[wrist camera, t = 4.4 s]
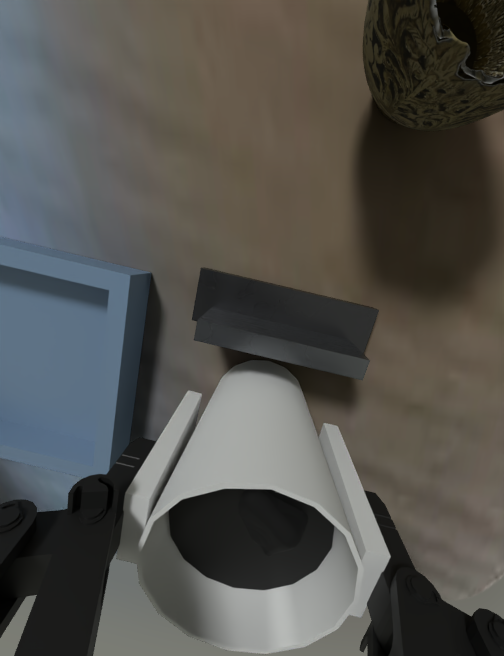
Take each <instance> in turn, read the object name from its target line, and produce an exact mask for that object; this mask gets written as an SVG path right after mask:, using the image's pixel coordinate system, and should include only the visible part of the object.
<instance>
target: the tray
mask: <svg viewBox="0 0 504 656" xmlns="http://www.w3.org/2000/svg"><path fill="white" fill-rule="evenodd" d="M150 281H151V272H146V271H142V270H138V269H134V268H130V267H125V266H121V265H117V264H113V263H108V262H104V261H100V260H96V259H92V258H87V257H83V256H79V255H75V254H71V253H66V252H62V251H58V250H54V249H49V248H45V247H41V246H37V245H33V244H28V243H24V242H20V241H16V240H12V239H7V238H3V237H0V458H3V459H7V460H11V461H16V462H20V463H24V464H28V465H32V466H37V467H41V468H45V469H49V470H53V471H57V472H62V473H66V474H70V475H74V476H78V477H83V478H86V477H88V476H90V475H96V474H107V473H108V471H109V470H110V469H111V468H112V466H113V465H114V464H115V463H116V461H117V460H118V458H119V457H120V456H121V455H122V453H123V452H124V450H125V449H126V448H127V446H128V445H129V442H130V435H131V427H132V419H133V412H134V404H135V396H136V388H137V381H138V373H139V365H140V358H141V350H142V342H143V335H144V327H145V319H146V312H147V304H148V296H149V288H150Z"/></svg>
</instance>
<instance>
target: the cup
mask: <svg viewBox="0 0 504 656" xmlns="http://www.w3.org/2000/svg"><path fill="white" fill-rule="evenodd" d="M363 61H364V69H365V74H366V79H367V83H368V86H369V89H370V91H371V93H372V95H373V98H374V99H375V102H376V105H377V107H378V109H379V110H380V112H381V113H382V114H383V115H384V116H385V117H386V118H387V119H389V120H390V121H392V122H395V123H399V124H401V125H403V126H405V127H408V128H411V129H416V130H423V131H441V130H447V129H452V128H456V127H460V126H463V125H467V124H470V123H472V122H475V121H478V120H480V119H483V118H485V117H488V116H490V115H493V114H495V113H497V112H499V111H502V110H504V0H368V6H367V12H366V18H365V24H364V36H363Z"/></svg>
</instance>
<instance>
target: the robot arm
mask: <svg viewBox="0 0 504 656" xmlns="http://www.w3.org/2000/svg"><path fill="white" fill-rule="evenodd" d="M201 396H202V394H201V393H197V392H192V391H188V392H187V393H186V395H185V396H184V398H183V400H182V401H181V403H180V405H179V406H178V408H177V409H176V411H175V413H174V414H173V416H172V418H171V419H170V421H169V423H168V424H167V426H166V427H165V429H164V431H163V432H162V434H161V436H160V437H159V439H158V440H157V442H156V441H152V440H148V439H144V438H138V439H137V440H135V441H133V442H132V443H130V444H129V445H128V446H127V448H126V449H125V450H124V452H123V453H122V455H121V456H120V457H119V458H118V460H117V461H116V463H115V464H114V465H113V466H112V468H111V469H110V470H109V471H108V473H107V474H96V475H90V476H88V477H86V478H83V479H81V480H80V481H79V482H77V483H76V484H75V485H74V486H73V487H72V489H71V490H70V492H69V494H68V509H65V510H59V511H46V512H37V507H36V506H35V505H34V503H33V502H30V501H28V500H13V501H9V502H5V503H3V504H1V505H0V638H1V636H2V634H3V633H4V631H5V630H6V628H7V626H8V625H9V623H10V622H11V620H12V618H13V617H14V615H15V614H16V612H17V610H18V609H19V607H20V605H21V604H22V602H23V601H24V599H25V597H26V596H31V595H37V596H36V599H35V602H34V604H33V607H32V610H31V612H30V615H29V618H28V620H27V623H26V626H25V628H24V631H23V634H22V636H21V639H20V642H19V644H18V647H17V649H16V652H15V655H14V656H93V652H94V647H95V642H96V637H97V631H98V626H99V621H100V616H101V610H102V605H103V600H104V594H105V589H106V584H107V579H108V573H109V566H110V562H111V560H112V559H113V556H114V555H115V553H116V551H117V549H118V551H117V559H119V560H123V561H127V562H131V563H135V564H137V560H136V552H135V550H136V548H137V546H138V543H139V541H140V539H141V536H142V534H143V532H144V529H145V527H146V525H147V522H148V520H149V518H150V516H151V514H152V512H153V510H154V508H155V506H156V504H157V502H158V500H159V499H160V497H161V495H162V493H163V491H164V489H165V487H166V485H167V483H168V481H169V479H170V477H171V475H172V473H173V471H174V469H175V467H176V466H177V464H178V462H179V460H180V458H181V456H182V454H183V452H184V450H185V448H186V446H187V444H188V442H189V440H190V438H191V436H192V434H193V433H194V431H195V426H196V421H197V416H198V411H199V406H200V401H201ZM319 441H320V443H321V446H322V449H323V452H324V455H325V458H326V461H327V463H328V466H329V469H330V472H331V475H332V478H333V481H334V483H335V486H336V489H337V492H338V495H339V498H340V501H341V503H342V506H343V509H344V512H345V515H346V518H347V521H348V524H349V526H350V529H351V532H352V535H353V538H354V541H355V544H356V546H357V549H358V552H359V555H360V558H361V561H362V564H363V566H364V573H363V579H362V586H361V592H360V599H359V603H358V604H357V605H356V606H355V608H354V609H353V610H352V612H351V613H350V614H349V615H352V616H356V617H360V618H361V617H362V615H363V613H364V611H365V609H366V607H367V606H368V609H369V613H370V616H371V620H372V621H371V623H370V625H369V627H368V630H367V632H366V634H365V635H364V637H363V639H362V641H361V645H360V651H362V652H364V650H365V648H366V646H367V644H368V656H504V619H502V618H501V617H500V616H499V615H497V614H495V613H493V612H491V611H489V610H487V609H480V608H479V609H478V610H476V611H475V612H474V614H473V616H472V617H471V616H469V615H467V614H466V613H464V612H462V611H460V610H458V609H457V608H455V607H453V606H452V605H450V604H448V603H446V602H445V601H443V600H442V599H441V597H440V595H439V593H438V592H437V590H436V589H435V587H434V586H433V584H432V583H431V582H430V581H429V580H428V579H427V578H426V577H425V576H423V575H422V574H420V573H419V572H418V571H416V570H415V567H414V565H413V563H412V561H411V559H410V557H409V555H408V553H407V550H406V548H405V546H404V544H403V542H402V540H401V538H400V536H399V533H398V531H397V530H396V527H395V525H394V523H393V521H392V520H391V516H390V514H389V512H388V510H387V508H386V506H385V504H384V503H383V502H382V501H381V499H380V498H379V497H378V496H377V494H376V493H373V492H369V491H365V490H363V487H362V485H361V482H360V480H359V477H358V475H357V473H356V470H355V468H354V465H353V463H352V460H351V458H350V455H349V453H348V450H347V448H346V446H345V443H344V441H343V438H342V436H341V433H340V431H339V428H338V426H335V425H331V424H327V423H324V424H323V427H322V429H321V432H320V435H319Z"/></svg>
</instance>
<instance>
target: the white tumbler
mask: <svg viewBox="0 0 504 656" xmlns="http://www.w3.org/2000/svg"><path fill="white" fill-rule="evenodd" d="M135 552H136V560H137V569H138V577H139V584H140V586H141V587H142V589H143V590H144V592H145V594H146V595H147V597H148V598H149V600H150V601H151V603H152V604H153V606H154V608H155V609H156V611H157V612H158V613H159V614H160V615H161V616H162V617H164V618H165V619H166V620H168V621H169V622H170V623H172V624H173V625H174V626H176V627H177V628H178V629H180V630H181V631H182V632H184V633H185V634H186V635H187V636H190V637H192V638H195V639H197V640H200V641H203V642H205V643H208V644H211V645H213V646H216V647H219V648H221V649H224V650H230V651H240V652H250V653H261V654H269V653H274V652H280V651H286V650H291V649H296V648H302V647H306V646H308V645H310V644H311V643H313V642H315V641H317V640H319V639H321V638H322V637H324V636H326V635H328V634H330V633H332V632H333V631H335V630H337V629H338V628H339V627H340V626H341V624H342V623H343V622H344V620H345V619H346V618H347V617H348V615H349V614H350V613H351V612H352V610H353V609H354V608H355V606H356V605H357V604H358V603H359V599H360V592H361V586H362V579H363V573H364V566H363V564H362V561H361V558H360V555H359V552H358V549H357V546H356V544H355V541H354V538H353V535H352V532H351V529H350V526H349V524H348V521H347V518H346V515H345V512H344V509H343V506H342V503H341V501H340V498H339V495H338V492H337V489H336V486H335V483H334V481H333V478H332V475H331V472H330V469H329V466H328V463H327V461H326V458H325V455H324V452H323V449H322V446H321V443H320V441H319V438H318V435H317V432H316V429H315V426H314V423H313V420H312V418H311V415H310V412H309V409H308V406H307V403H306V400H305V398H304V394H303V392H302V389H301V387H300V384H299V381H298V380H297V379H296V378H295V377H294V376H293V375H292V374H291V373H290V372H289V371H288V370H287V369H286V368H285V367H283V366H280V365H278V364H276V363H273V362H271V361H263V360H250V361H247V362H244V363H241V364H238V365H236V366H234V367H233V368H231V369H230V370H229V371H228V372H227V373H226V374H225V375H224V376H223V377H222V378H221V380H220V382H219V384H218V386H217V388H216V390H215V392H214V394H213V396H212V398H211V400H210V401H209V403H208V405H207V407H206V409H205V411H204V413H203V415H202V417H201V419H200V421H199V423H198V425H197V427H196V429H195V431H194V433H193V434H192V436H191V438H190V440H189V442H188V444H187V446H186V448H185V450H184V452H183V454H182V456H181V458H180V460H179V462H178V464H177V466H176V467H175V469H174V471H173V473H172V475H171V477H170V479H169V481H168V483H167V485H166V487H165V489H164V491H163V493H162V495H161V497H160V499H159V500H158V502H157V504H156V506H155V508H154V510H153V512H152V514H151V516H150V518H149V520H148V522H147V525H146V527H145V529H144V532H143V534H142V536H141V539H140V541H139V543H138V546H137V548H136V550H135Z"/></svg>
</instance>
